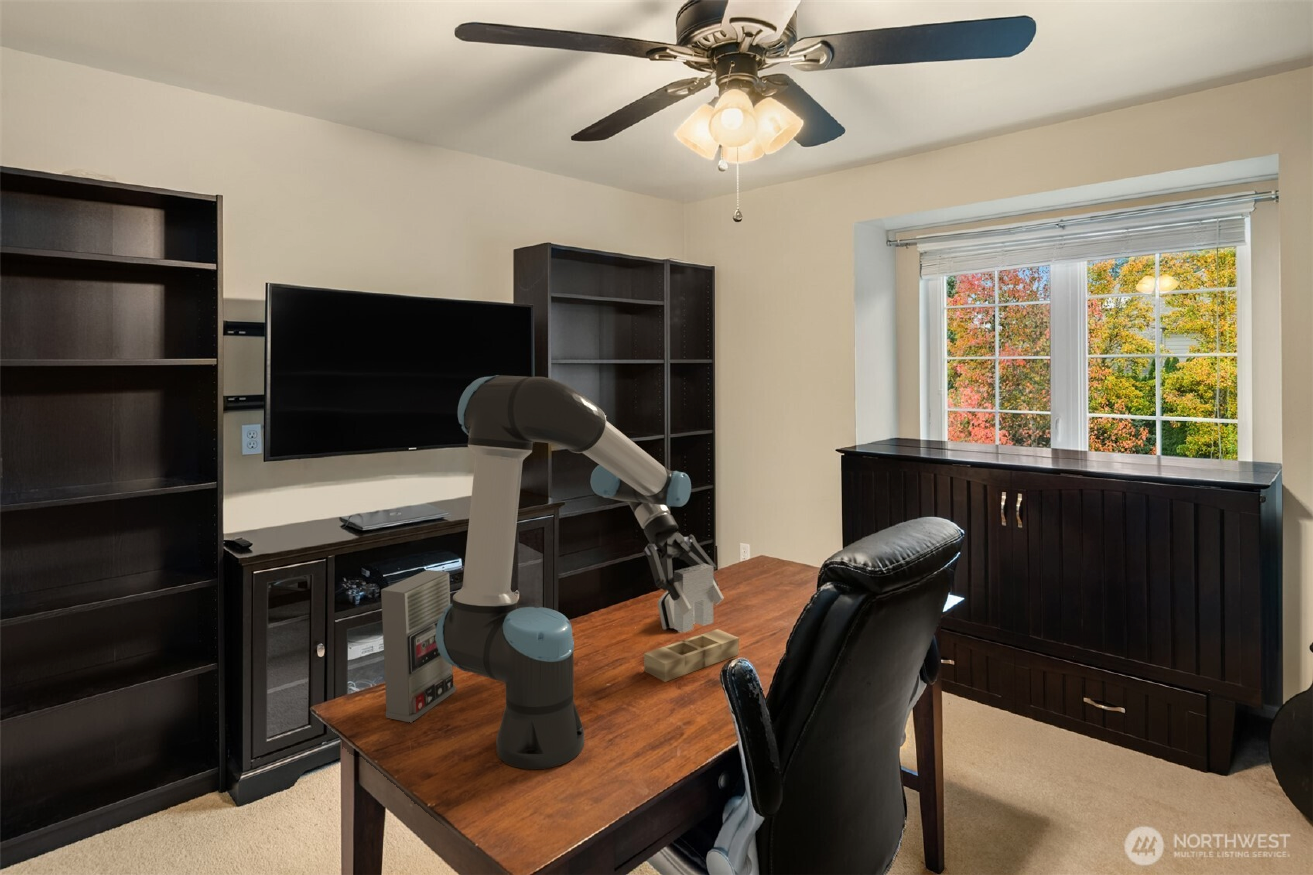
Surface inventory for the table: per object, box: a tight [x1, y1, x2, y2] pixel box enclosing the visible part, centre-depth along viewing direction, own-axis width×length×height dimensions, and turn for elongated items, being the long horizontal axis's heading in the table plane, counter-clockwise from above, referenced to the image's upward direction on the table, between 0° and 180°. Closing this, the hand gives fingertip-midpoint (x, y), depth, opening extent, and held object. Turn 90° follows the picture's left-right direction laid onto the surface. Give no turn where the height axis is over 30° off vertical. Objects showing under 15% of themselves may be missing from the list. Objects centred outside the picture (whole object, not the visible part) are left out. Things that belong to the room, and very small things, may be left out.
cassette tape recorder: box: [380, 569, 457, 724], centre depth 141 cm, size 14×6×25 cm, turn 160°
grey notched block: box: [673, 563, 714, 633], centre depth 161 cm, size 9×3×13 cm, turn 129°
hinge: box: [657, 590, 696, 634], centre depth 188 cm, size 17×5×10 cm, turn 147°
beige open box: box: [643, 628, 740, 683], centre depth 162 cm, size 22×7×4 cm, turn 129°
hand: (703, 606), depth 159 cm, fingers closed on grey notched block, 9 cm apart
